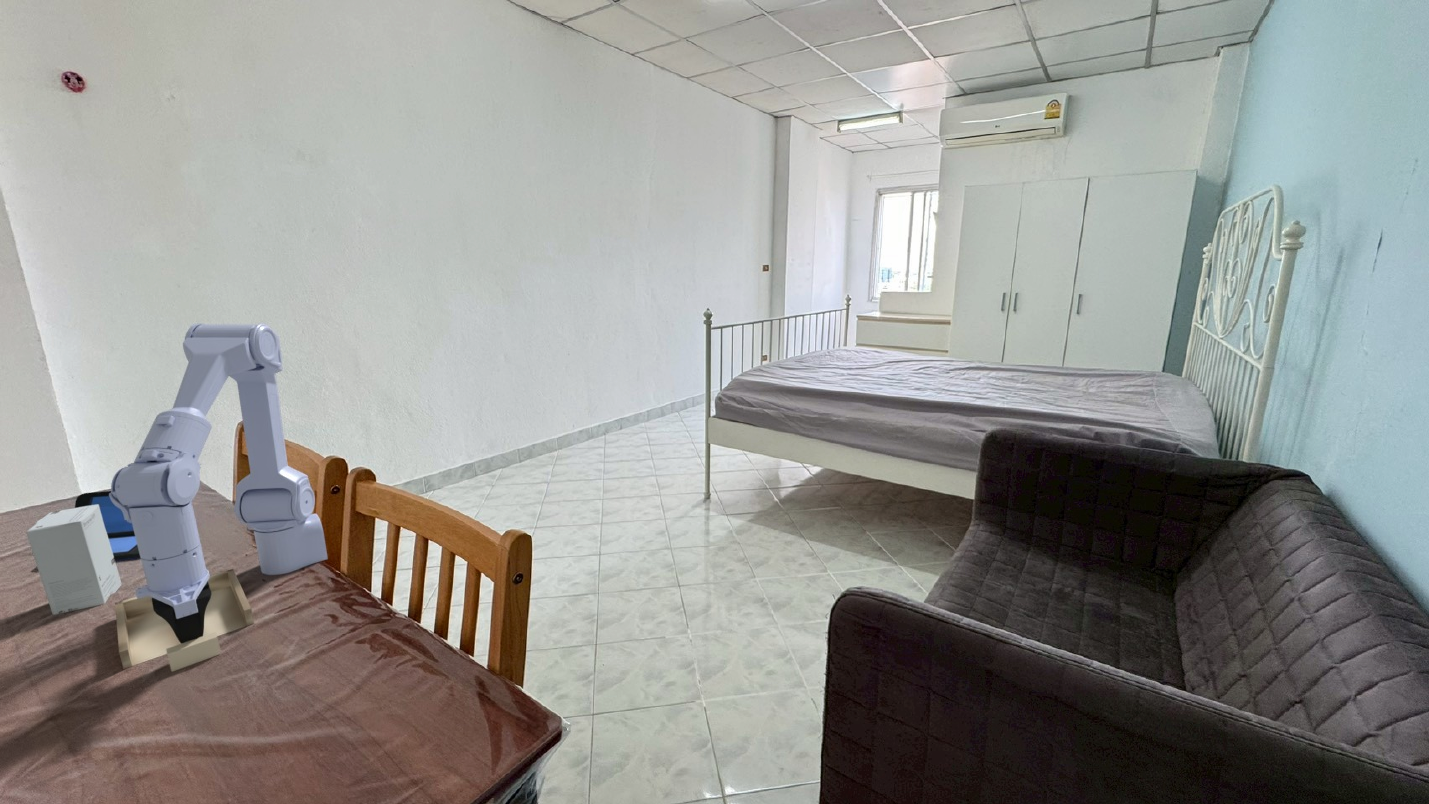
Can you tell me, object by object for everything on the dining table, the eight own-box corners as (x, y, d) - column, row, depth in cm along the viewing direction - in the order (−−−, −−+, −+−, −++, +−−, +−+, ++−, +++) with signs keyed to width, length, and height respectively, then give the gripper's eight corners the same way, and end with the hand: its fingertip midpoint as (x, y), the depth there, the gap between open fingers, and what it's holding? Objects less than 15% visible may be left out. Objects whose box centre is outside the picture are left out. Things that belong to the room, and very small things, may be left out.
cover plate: (244, 648, 81) (238, 622, 80) (255, 676, 75) (249, 649, 74) (146, 684, 74) (139, 657, 73) (151, 718, 68) (143, 689, 67)
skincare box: (107, 609, 88) (83, 521, 84) (50, 621, 85) (23, 531, 81) (122, 583, 95) (101, 501, 91) (70, 594, 91) (46, 509, 88)
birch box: (236, 587, 94) (233, 568, 93) (255, 628, 84) (251, 608, 83) (120, 623, 85) (114, 602, 84) (125, 675, 74) (119, 652, 73)
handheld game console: (36, 572, 98) (21, 523, 96) (88, 537, 110) (76, 493, 108) (151, 558, 103) (139, 512, 101) (188, 526, 115) (179, 484, 113)
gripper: (124, 540, 75) (147, 629, 79) (130, 583, 66) (155, 681, 69) (195, 523, 80) (213, 607, 84) (210, 561, 71) (230, 654, 74)
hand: (192, 639), depth 77 cm, fingers closed
